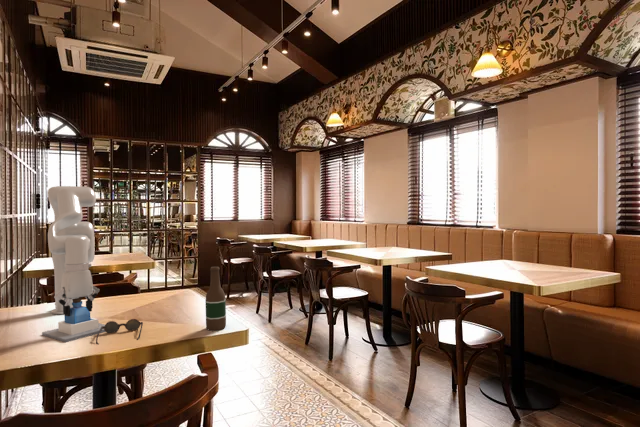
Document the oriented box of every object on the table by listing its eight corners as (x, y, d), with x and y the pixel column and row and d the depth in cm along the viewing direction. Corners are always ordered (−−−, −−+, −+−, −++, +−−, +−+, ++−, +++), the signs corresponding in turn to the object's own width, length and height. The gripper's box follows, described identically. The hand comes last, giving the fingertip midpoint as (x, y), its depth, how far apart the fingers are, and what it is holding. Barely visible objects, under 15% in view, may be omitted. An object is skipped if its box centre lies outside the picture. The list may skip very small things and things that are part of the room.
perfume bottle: (75, 332, 153) (74, 301, 153) (64, 331, 155) (64, 299, 155) (90, 328, 158) (89, 297, 158) (80, 326, 161) (79, 296, 161)
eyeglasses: (143, 329, 160) (142, 317, 160) (140, 340, 146) (140, 327, 146) (101, 334, 155) (101, 321, 155) (94, 346, 141) (94, 332, 141)
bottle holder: (42, 334, 155) (41, 323, 154) (90, 323, 170) (89, 312, 170) (65, 342, 145) (65, 329, 145) (114, 329, 160) (113, 318, 160)
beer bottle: (208, 332, 153) (206, 269, 153) (204, 327, 160) (202, 266, 160) (228, 328, 157) (227, 267, 157) (223, 324, 164) (222, 265, 163)
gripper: (94, 264, 166) (95, 307, 166) (47, 270, 152) (49, 317, 152) (104, 265, 162) (105, 309, 162) (57, 271, 148) (58, 319, 148)
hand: (78, 313), depth 157 cm, fingers open, 7 cm apart
